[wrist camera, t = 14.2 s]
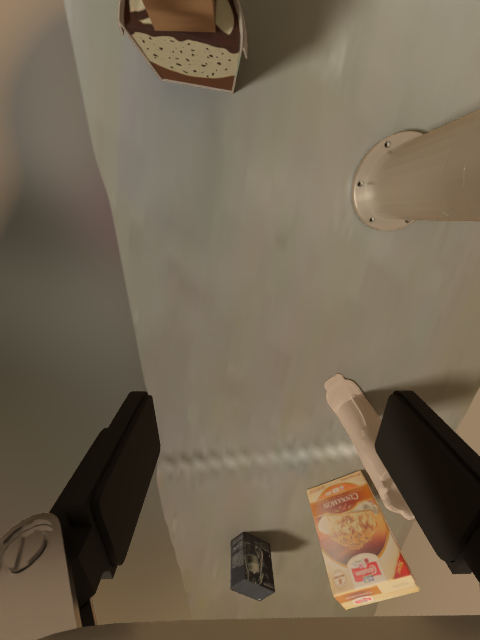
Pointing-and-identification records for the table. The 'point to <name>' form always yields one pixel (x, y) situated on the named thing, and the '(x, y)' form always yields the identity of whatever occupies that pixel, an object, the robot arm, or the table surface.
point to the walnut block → (182, 15)
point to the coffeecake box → (358, 543)
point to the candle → (364, 437)
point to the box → (251, 567)
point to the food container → (190, 46)
